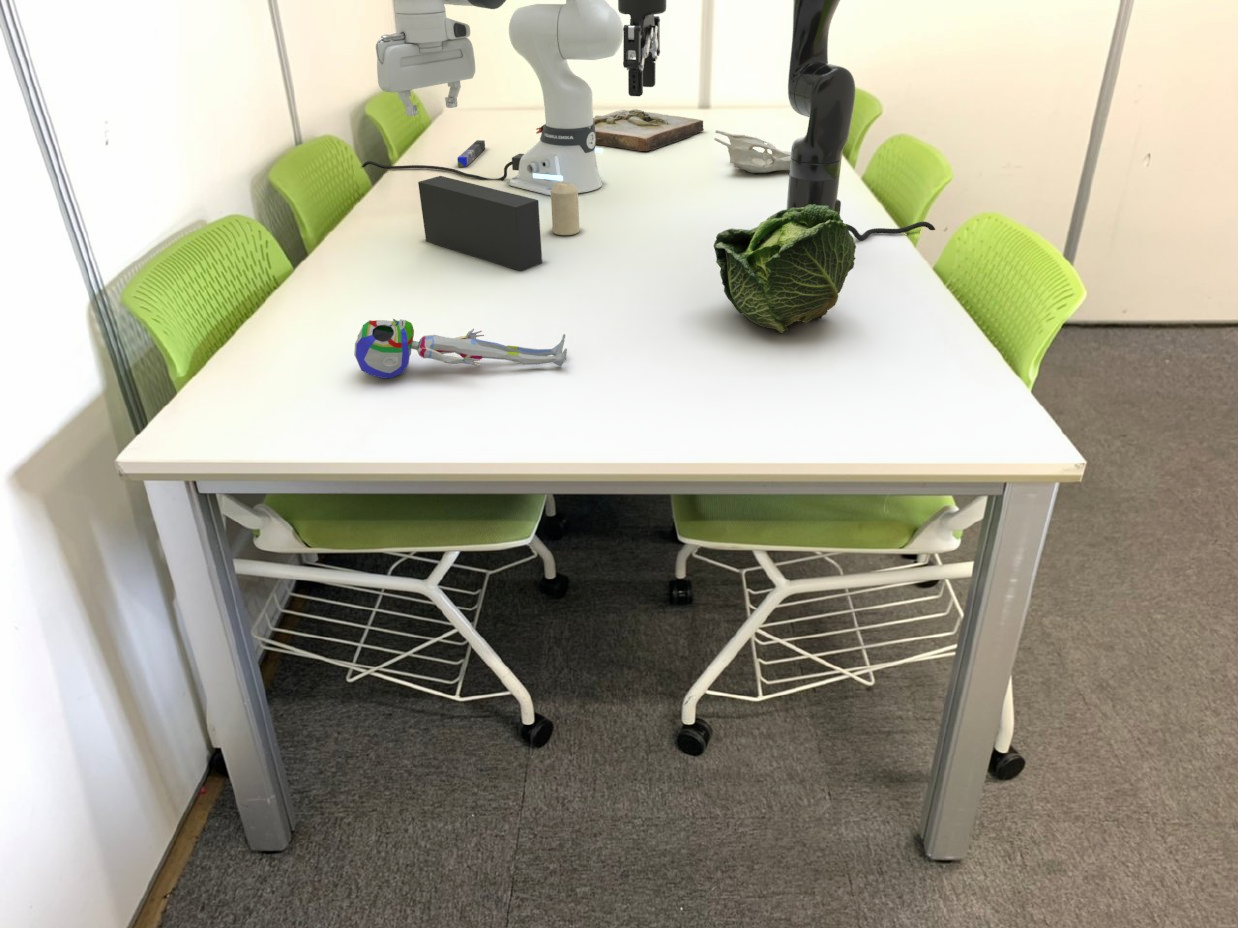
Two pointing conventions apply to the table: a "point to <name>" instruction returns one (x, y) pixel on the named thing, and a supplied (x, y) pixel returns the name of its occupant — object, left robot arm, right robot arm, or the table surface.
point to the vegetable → (786, 265)
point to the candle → (565, 208)
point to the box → (481, 222)
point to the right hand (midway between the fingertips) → (642, 91)
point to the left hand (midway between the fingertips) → (432, 111)
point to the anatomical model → (754, 154)
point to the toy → (435, 349)
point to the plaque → (643, 129)
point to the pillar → (471, 153)
